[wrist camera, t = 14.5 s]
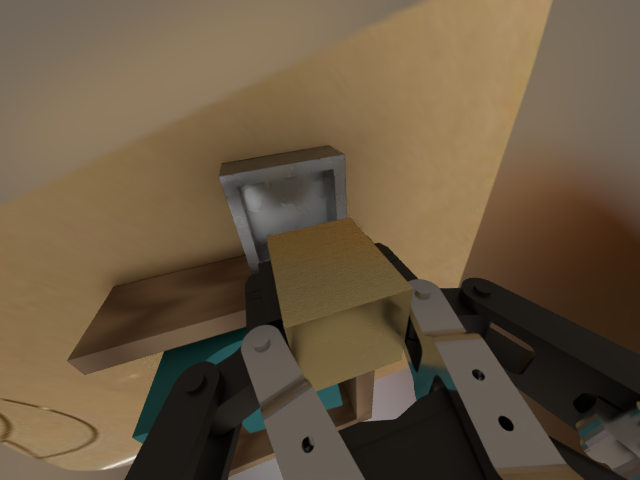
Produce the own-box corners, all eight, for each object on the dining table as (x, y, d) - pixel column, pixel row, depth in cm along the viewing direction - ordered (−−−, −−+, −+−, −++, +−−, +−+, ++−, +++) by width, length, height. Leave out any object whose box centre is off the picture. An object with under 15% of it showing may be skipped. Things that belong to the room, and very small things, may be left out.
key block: (266, 236, 10) (284, 329, 6) (350, 217, 11) (413, 288, 7) (282, 298, 13) (303, 396, 9) (351, 278, 13) (401, 359, 9)
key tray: (250, 253, 20) (252, 276, 17) (221, 163, 16) (219, 176, 13) (335, 233, 21) (348, 251, 19) (329, 145, 17) (344, 154, 15)
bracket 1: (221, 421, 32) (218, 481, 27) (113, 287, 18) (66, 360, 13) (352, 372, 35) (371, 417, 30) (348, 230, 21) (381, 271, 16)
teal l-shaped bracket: (186, 291, 21) (132, 437, 12) (306, 261, 21) (336, 377, 13) (251, 386, 31) (247, 502, 22) (331, 363, 32) (357, 466, 23)
